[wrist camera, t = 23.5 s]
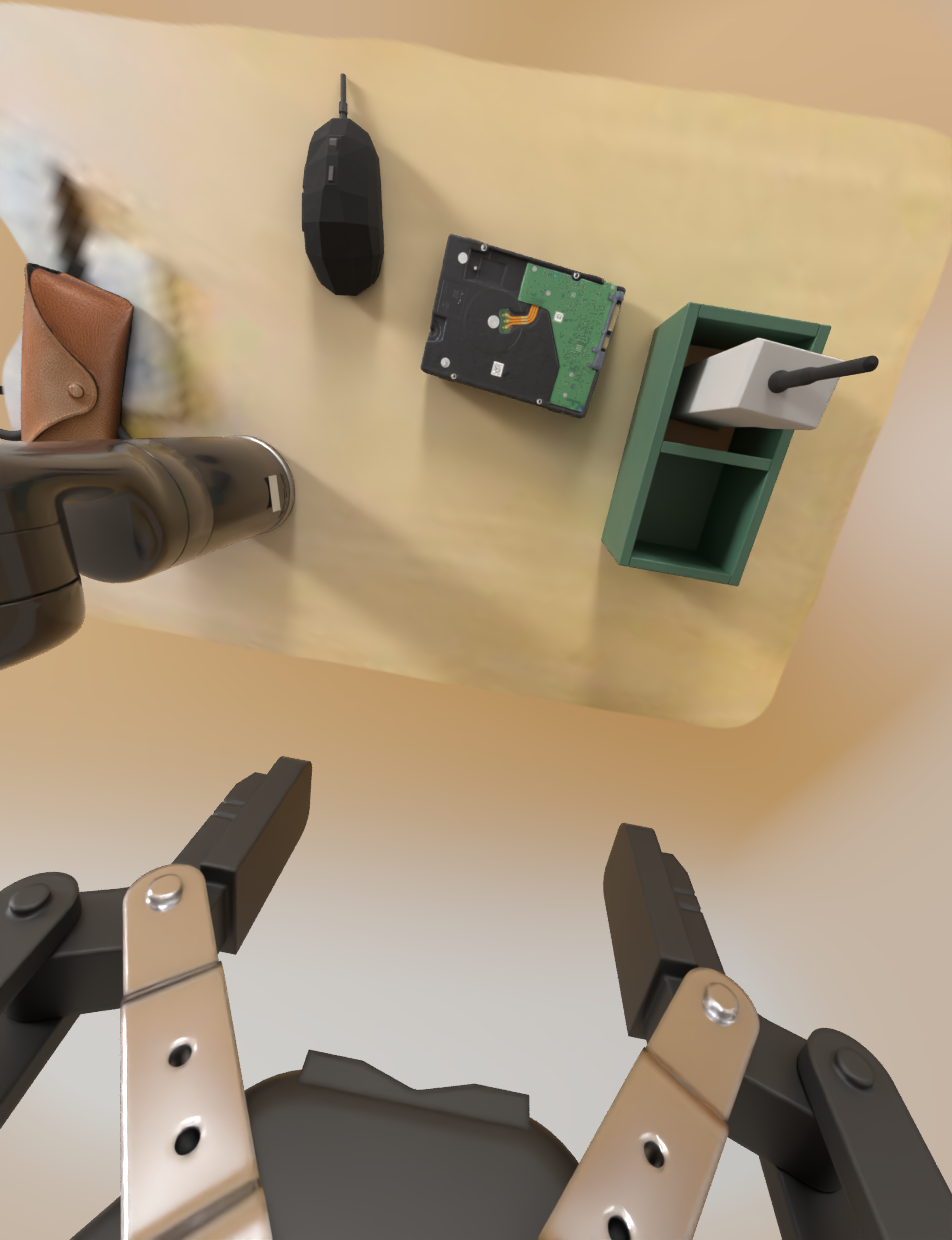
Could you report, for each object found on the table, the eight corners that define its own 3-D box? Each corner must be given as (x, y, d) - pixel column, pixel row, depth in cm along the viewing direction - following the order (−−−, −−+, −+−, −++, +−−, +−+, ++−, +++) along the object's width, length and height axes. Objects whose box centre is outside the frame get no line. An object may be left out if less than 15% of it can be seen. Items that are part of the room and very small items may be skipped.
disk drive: (425, 376, 47) (583, 420, 47) (419, 372, 44) (586, 419, 44) (452, 243, 43) (623, 290, 43) (447, 231, 40) (629, 281, 40)
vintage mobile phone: (714, 430, 45) (920, 430, 22) (659, 416, 45) (806, 399, 22) (732, 385, 44) (972, 332, 20) (675, 370, 44) (850, 299, 20)
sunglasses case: (121, 494, 52) (39, 488, 47) (91, 471, 55) (11, 464, 50) (136, 298, 46) (42, 265, 40) (101, 285, 49) (10, 253, 44)
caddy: (601, 540, 50) (618, 564, 41) (654, 329, 44) (689, 301, 35) (698, 558, 50) (738, 586, 41) (767, 348, 43) (832, 325, 34)
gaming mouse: (384, 77, 40) (369, 40, 36) (385, 299, 45) (372, 287, 41) (304, 76, 40) (281, 39, 36) (314, 296, 45) (295, 284, 41)
